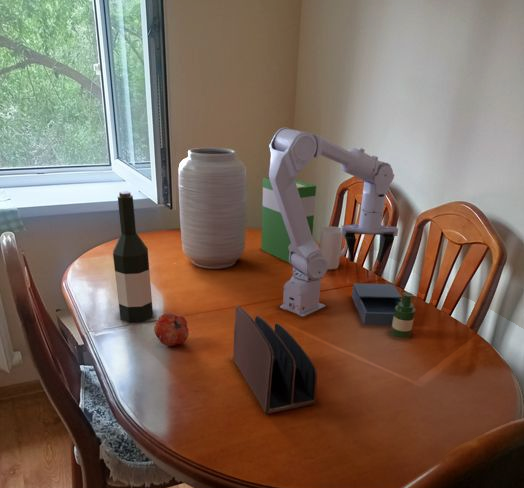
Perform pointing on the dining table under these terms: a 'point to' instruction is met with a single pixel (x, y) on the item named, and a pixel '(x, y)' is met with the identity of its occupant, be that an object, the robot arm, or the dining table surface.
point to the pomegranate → (171, 329)
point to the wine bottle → (131, 267)
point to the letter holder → (273, 364)
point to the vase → (212, 207)
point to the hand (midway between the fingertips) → (365, 260)
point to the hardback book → (272, 221)
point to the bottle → (403, 317)
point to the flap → (377, 290)
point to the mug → (332, 245)
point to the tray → (375, 309)
